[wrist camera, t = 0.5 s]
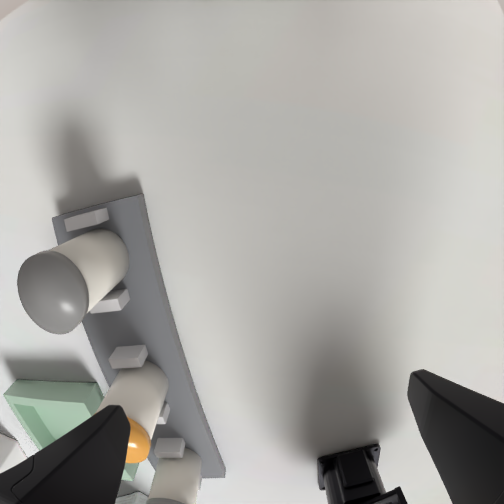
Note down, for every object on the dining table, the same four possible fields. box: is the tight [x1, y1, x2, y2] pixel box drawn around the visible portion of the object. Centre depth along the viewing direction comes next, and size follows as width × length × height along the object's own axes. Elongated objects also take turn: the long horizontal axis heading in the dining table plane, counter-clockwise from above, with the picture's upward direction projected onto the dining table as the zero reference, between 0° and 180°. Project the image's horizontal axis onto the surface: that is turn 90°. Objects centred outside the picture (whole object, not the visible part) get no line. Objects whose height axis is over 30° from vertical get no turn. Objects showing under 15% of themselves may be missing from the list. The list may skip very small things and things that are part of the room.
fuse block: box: [17, 194, 226, 504], centre depth 20 cm, size 27×7×8 cm, turn 10°
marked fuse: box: [94, 360, 169, 463], centre depth 19 cm, size 4×4×7 cm
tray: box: [3, 379, 139, 481], centre depth 24 cm, size 11×11×3 cm
